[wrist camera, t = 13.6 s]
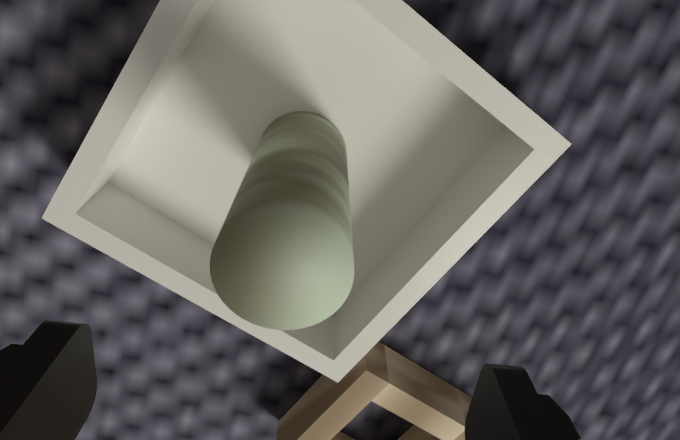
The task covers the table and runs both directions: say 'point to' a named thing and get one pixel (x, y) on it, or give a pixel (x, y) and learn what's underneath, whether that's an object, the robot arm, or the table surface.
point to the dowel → (288, 228)
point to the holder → (379, 401)
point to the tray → (317, 97)
